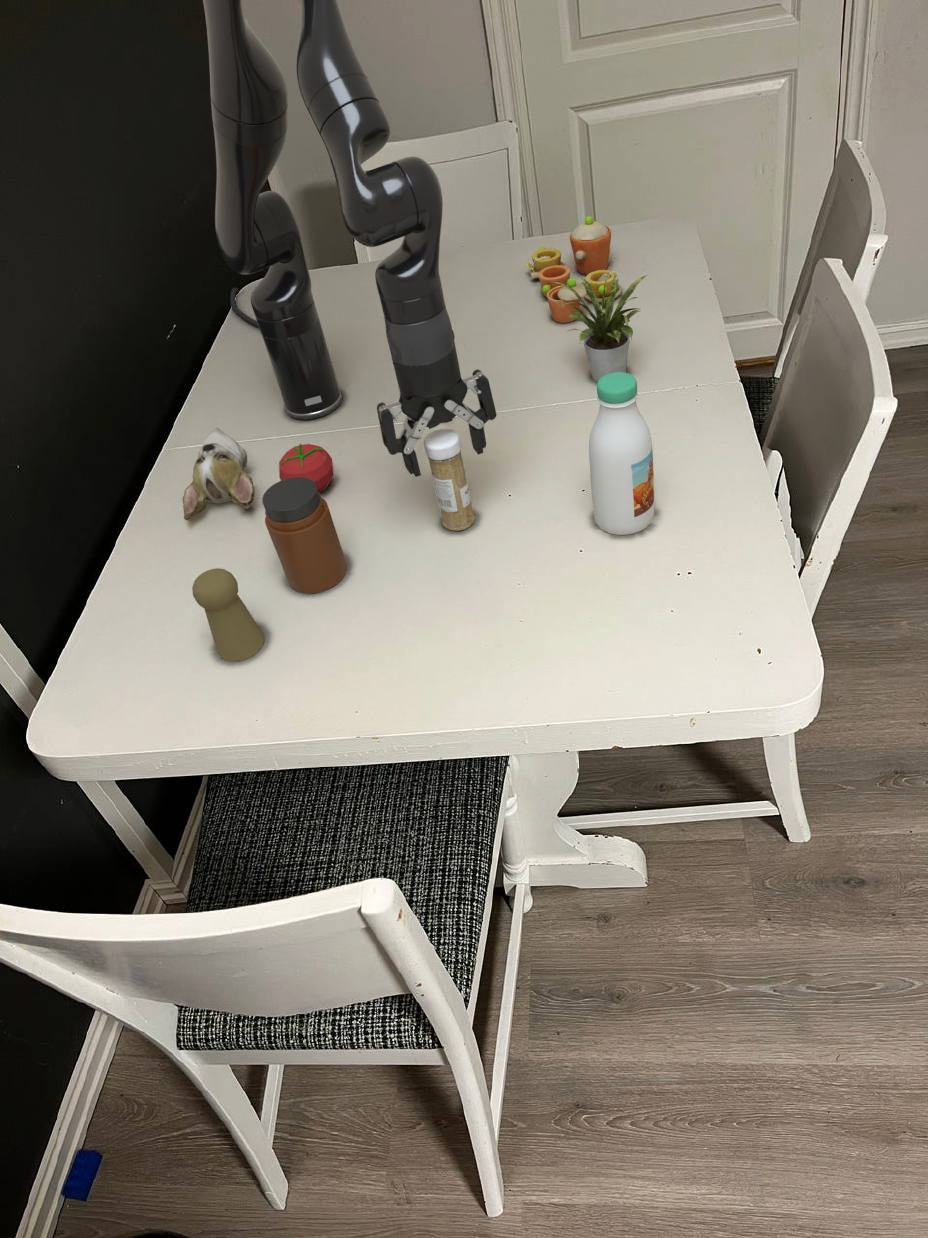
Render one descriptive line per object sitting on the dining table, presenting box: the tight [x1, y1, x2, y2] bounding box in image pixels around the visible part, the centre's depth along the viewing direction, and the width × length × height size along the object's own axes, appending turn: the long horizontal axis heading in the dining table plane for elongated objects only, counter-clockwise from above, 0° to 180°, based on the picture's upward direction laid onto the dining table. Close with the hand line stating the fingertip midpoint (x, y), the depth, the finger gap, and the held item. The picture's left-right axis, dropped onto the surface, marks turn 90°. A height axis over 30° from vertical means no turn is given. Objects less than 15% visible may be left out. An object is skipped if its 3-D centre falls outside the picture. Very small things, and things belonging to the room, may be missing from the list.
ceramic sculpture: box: [182, 426, 255, 521], centre depth 138 cm, size 11×9×15 cm
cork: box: [191, 567, 266, 663], centre depth 113 cm, size 6×6×11 cm
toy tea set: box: [526, 215, 622, 324], centre depth 166 cm, size 26×16×10 cm, turn 5°
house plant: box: [553, 272, 648, 384], centre depth 142 cm, size 14×14×16 cm
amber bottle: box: [261, 477, 348, 595], centre depth 120 cm, size 8×8×13 cm
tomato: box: [278, 443, 335, 494], centre depth 136 cm, size 8×8×8 cm
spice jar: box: [423, 428, 476, 532], centre depth 123 cm, size 5×5×14 cm
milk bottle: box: [588, 372, 655, 536], centre depth 115 cm, size 8×8×20 cm
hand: (447, 462), depth 120 cm, fingers open, 8 cm apart
